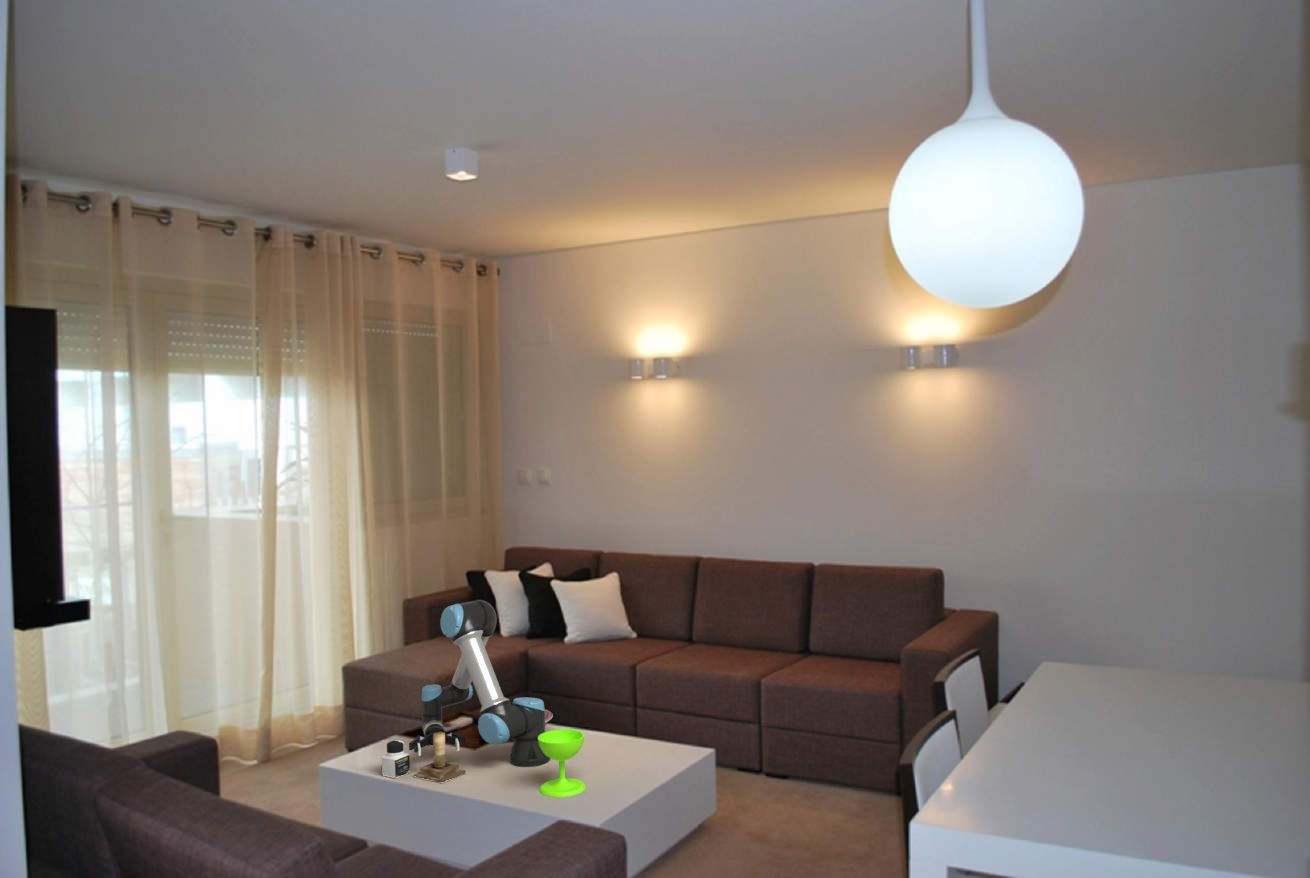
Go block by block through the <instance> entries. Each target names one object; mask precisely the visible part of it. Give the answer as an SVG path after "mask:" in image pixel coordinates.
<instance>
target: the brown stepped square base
mask: <svg viewBox="0 0 1310 878" xmlns="http://www.w3.org/2000/svg"><path fill="white" fill-rule="evenodd" d="M465 772H466V773H467V771H466V770H465V769H460V763H458V762H457V763H456V762H453V761H452V762H451V761H448V760H446V767H445V768H443V769H441V770H438V769H434V761H433V762H431V763H428V764H427V765H423V766H421V767H419V772H416V773H414V774H413V777H414V776H416V777H419V778H424V779H429V780H433V781H436V782H435V783H437V782H445V781H446V780H449V779H452V778H454V779H456V778H457V777H456V776H459V775H461V774H463V775H465V774H466V773H465ZM464 773H465V774H464ZM461 776H462V775H461ZM455 777H456V778H455ZM459 777H460V776H459ZM419 778H418V779H419ZM424 779H423V780H424ZM452 780H453V779H452ZM433 781H432V782H433ZM449 781H450V780H449ZM445 783H446V782H445Z"/></svg>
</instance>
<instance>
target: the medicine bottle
mask: <svg viewBox="0 0 1310 878" xmlns="http://www.w3.org/2000/svg"><path fill="white" fill-rule="evenodd" d="M410 758H411V757H410V753H407V752H405V742H404V741H403V740H398V739H396V740H395V739H394V740H391V741H389V742H387V744H386V755H383V756H381V775H382V774H384V775H388V776H392V777H394V778H396V777H398V776H401V775H404V776H406V775H405V774H407V775H409V774H410V773H411V765H410V762H411V761H410V760H411V759H410ZM409 772H410V773H409ZM408 773H409V774H408ZM394 778H393V779H394Z"/></svg>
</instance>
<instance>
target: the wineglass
mask: <svg viewBox="0 0 1310 878" xmlns="http://www.w3.org/2000/svg"><path fill="white" fill-rule="evenodd" d="M584 742H585V734H584V732H582V731H580V730H576V729H570V728H569V729H568V728H567V729H564V728H563V729H554V730H552V729H551V730H548V731H545V733H542V734H540V735H539V736H538V743H539V746H540V748H541V750H542V751H543V753H544V754H545V755H546V756H548V757H549V758H551V759H550V760H554V761H558V769H559V771H558V772H559V774H558V775H559V776H558V777H559V778H554V779H550V780H548V781H546V782H544V783H542V784H541V785H540V787H539V788H538V789H539V790H538V791H539V793H540V794H542V795H543V796H546V797H552V798H567V797H572V796H577V795H579V794H581V793H583V792H584V791H585V790H586V788H587V785H585V782H583V781H582V780H579V779H577V778H573V777H572V778H571V777H570V778H567V777H566V772H565V771H566V769H565V767H566V766H565V764H566V763H565V761H566V760H570V759H572V758H573V757H575V756H576V755H577V754H578V753H579V752H580V751H581V749H582V748H583V745H584Z"/></svg>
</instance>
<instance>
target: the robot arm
mask: <svg viewBox="0 0 1310 878" xmlns="http://www.w3.org/2000/svg"><path fill="white" fill-rule="evenodd" d="M497 620H498V619H497V614H496V611H495V609H494V607H493V606H492V604H491V603H490V602H488V601H485V600H483V599H475V600H472V601H466V602H460V603H455V604H451V605H449V606H447V607H446V608H444V610H443V611H442V613H441V617H440V621H439V623H440V630H441V632H442V634H443V635H444V636H445V637H447V638H450V639H451V640H452V642H453V645H456V646H458V647H459V649H460V651H461V656H460V658H459V661H458V663H457V667H456V669H455V672H454V673H453V677H452V680H451V681H450V685H448V686H444V687H442V686H441V685H440V684H427V685H425V686H423V687H422V689H421V707H422V708H421V710H422V711H421V712H422V714H421V715H422V717H421V719H422V721H421V729H422V732H423V735H424V736H421V735H418V734H417V735H416V737H415V738H414V739H413V740H412V741H410V742H408V751H414V753H418V754H417V755H418V756H419V757H421V756H422V748H424V747H426V746H427V747H428V746H432V747H433V734H434V733H436V732H444V733H445V745H446V744H450V745H455V749H456V751H457V752H460V747H462V745H465V744H466V736H465V735H461V734H458V733H455V732H454V731H450V732H449V733H448V734H447V733H446V732H445V728H444V725H443V708H447V707H449V706H453V705H457V704H461V703H464V702H466V701H469V700H470V699H472V697H473V694H474V693H473V691H474V690H473V687H474V689H475V693H476V695H477V697H478V700H479V703H480V705H481V708H480V709H479V718H478V721H477V729H478V733H479V735H480V737H481V738H482V740H484V742H485V743H488V744H490V745H493V746H496V745H500V744H505V743H507V742H509V741H512V740H513V744H512V748H511V750H510V751H511V752H510V755H509V763H510V764H511V765H513V766H516V767H536V766H541V765H544V764H547V763H548V762H550V761H551V760H552V759H551V758H549V757H548V756H546V755H545V754H544V753H543V751H542V750H541V748H540V746H539V743H538V736H539V735H540V734H542V733H545V732H546V725H545V710H544V709H545V703H544V701H543V700H542V699H541V698H537V697H527V696H526V697H524V696H523V697H516V698H514V699H513V701H512V703H511V701H510V699H509V698H507V697H505V696H504V694H503V692H502V689H501V688H502V687H500V683H499V681H498V678H497V675H496V673H495V671H494V668H493V664H492V662H491V661H490V657H489V654H488V652H487V650H486V646H487V644H488V641H489V639H490V638H491V637H492V636H493V635H494V632H495V630H496V626H497ZM472 684H473V685H472Z"/></svg>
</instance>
